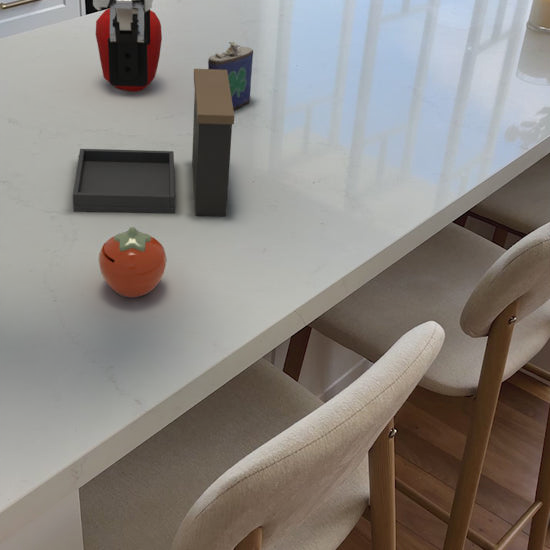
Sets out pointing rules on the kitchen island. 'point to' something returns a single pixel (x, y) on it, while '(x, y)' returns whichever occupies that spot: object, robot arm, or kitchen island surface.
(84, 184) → the pan
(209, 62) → the flask
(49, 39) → the kitchen island surface
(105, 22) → the apple
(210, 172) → the tower
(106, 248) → the tomato
